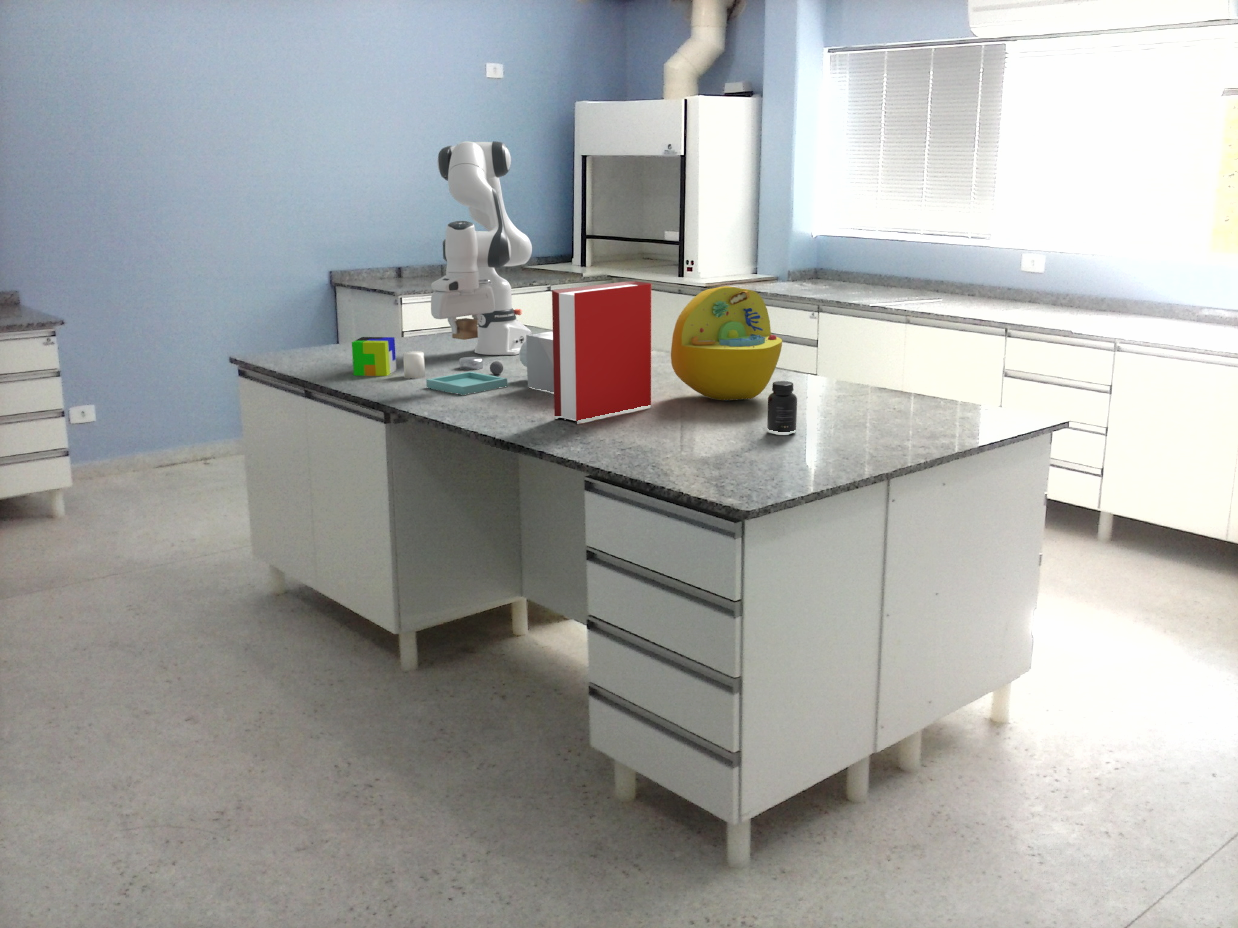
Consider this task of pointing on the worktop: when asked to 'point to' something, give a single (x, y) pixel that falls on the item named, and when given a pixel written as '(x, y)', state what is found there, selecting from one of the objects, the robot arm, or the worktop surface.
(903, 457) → the worktop surface
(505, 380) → the tray
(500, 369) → the rubber ball
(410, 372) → the ceramic jar
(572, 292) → the book
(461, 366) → the grey metal dome
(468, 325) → the walnut block
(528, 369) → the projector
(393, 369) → the puzzle toy
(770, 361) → the educational model
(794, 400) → the supplement bottle
